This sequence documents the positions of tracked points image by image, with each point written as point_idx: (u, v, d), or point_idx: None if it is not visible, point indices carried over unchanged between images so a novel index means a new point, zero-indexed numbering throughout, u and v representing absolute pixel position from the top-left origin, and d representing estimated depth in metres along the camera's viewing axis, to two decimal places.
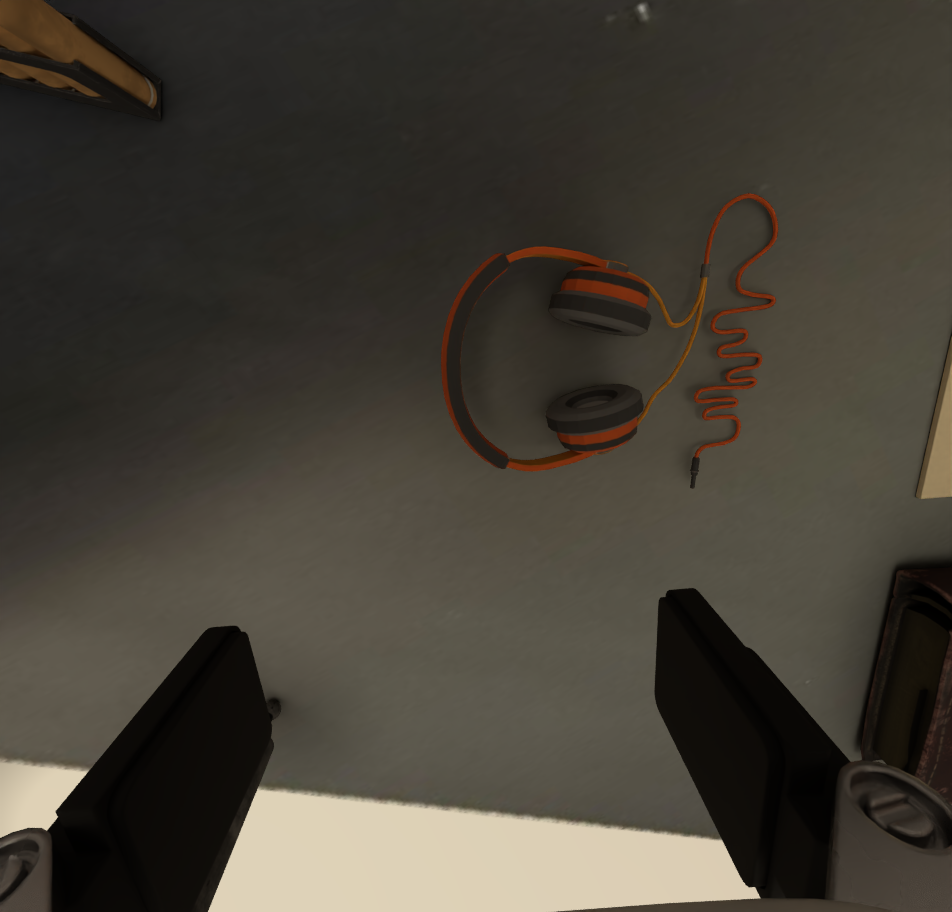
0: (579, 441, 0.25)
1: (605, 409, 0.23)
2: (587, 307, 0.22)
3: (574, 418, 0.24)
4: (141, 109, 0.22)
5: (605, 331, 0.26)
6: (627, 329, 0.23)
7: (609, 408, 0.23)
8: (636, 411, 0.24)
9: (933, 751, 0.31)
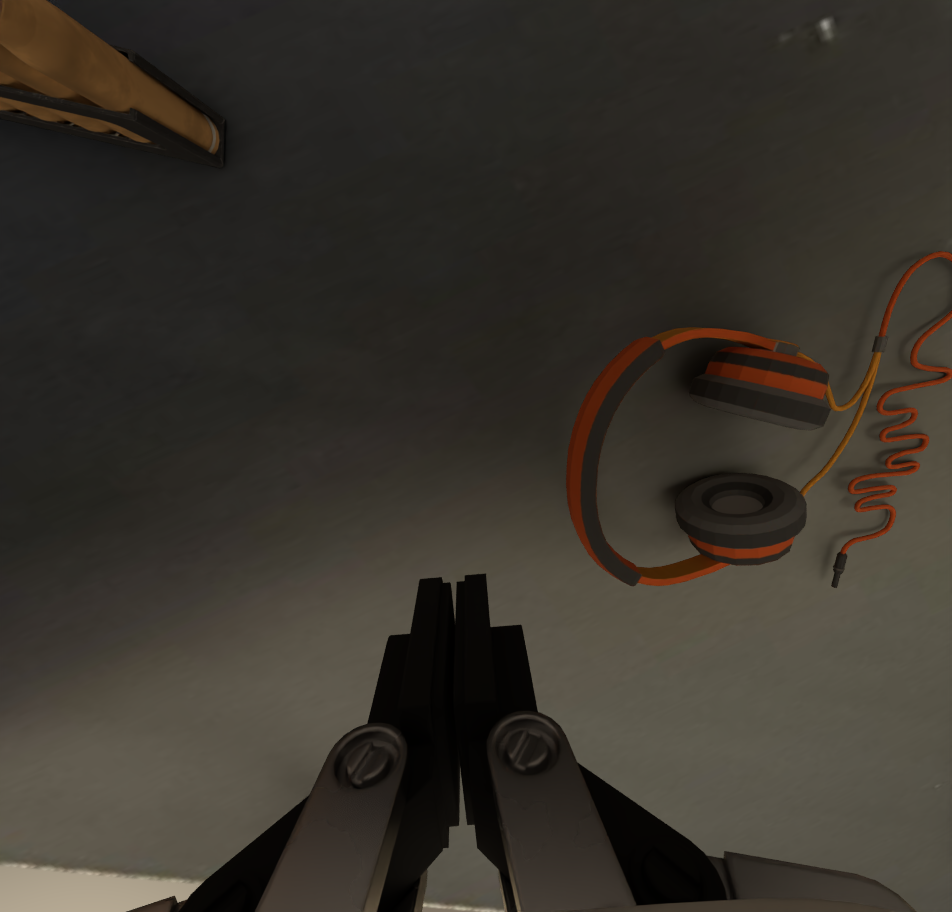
0: (727, 554, 0.20)
1: (769, 522, 0.19)
2: (760, 405, 0.18)
3: (727, 530, 0.20)
4: (202, 157, 0.18)
5: None
6: (805, 428, 0.18)
7: (774, 521, 0.19)
8: (803, 521, 0.19)
9: None
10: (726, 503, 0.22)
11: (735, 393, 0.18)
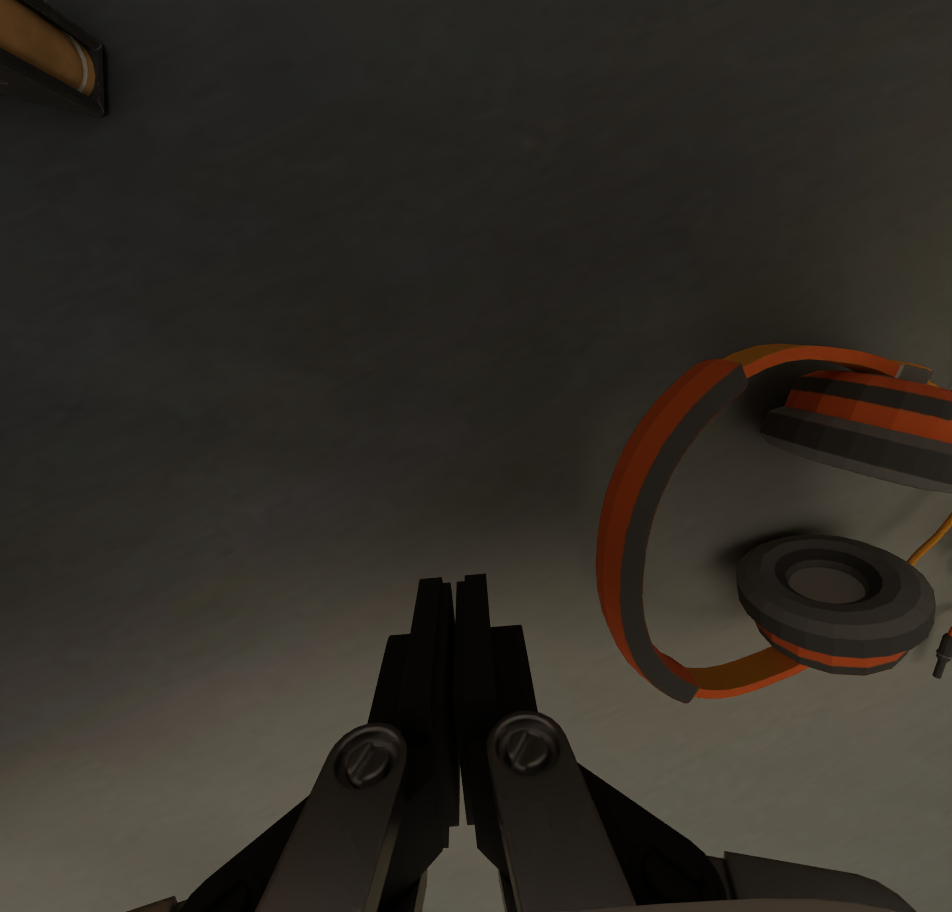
0: (820, 658, 0.15)
1: (888, 622, 0.13)
2: (889, 459, 0.12)
3: (825, 631, 0.14)
4: (63, 96, 0.12)
5: None
6: (948, 492, 0.12)
7: (895, 620, 0.13)
8: (933, 618, 0.14)
9: None
10: (808, 579, 0.16)
11: (847, 441, 0.12)
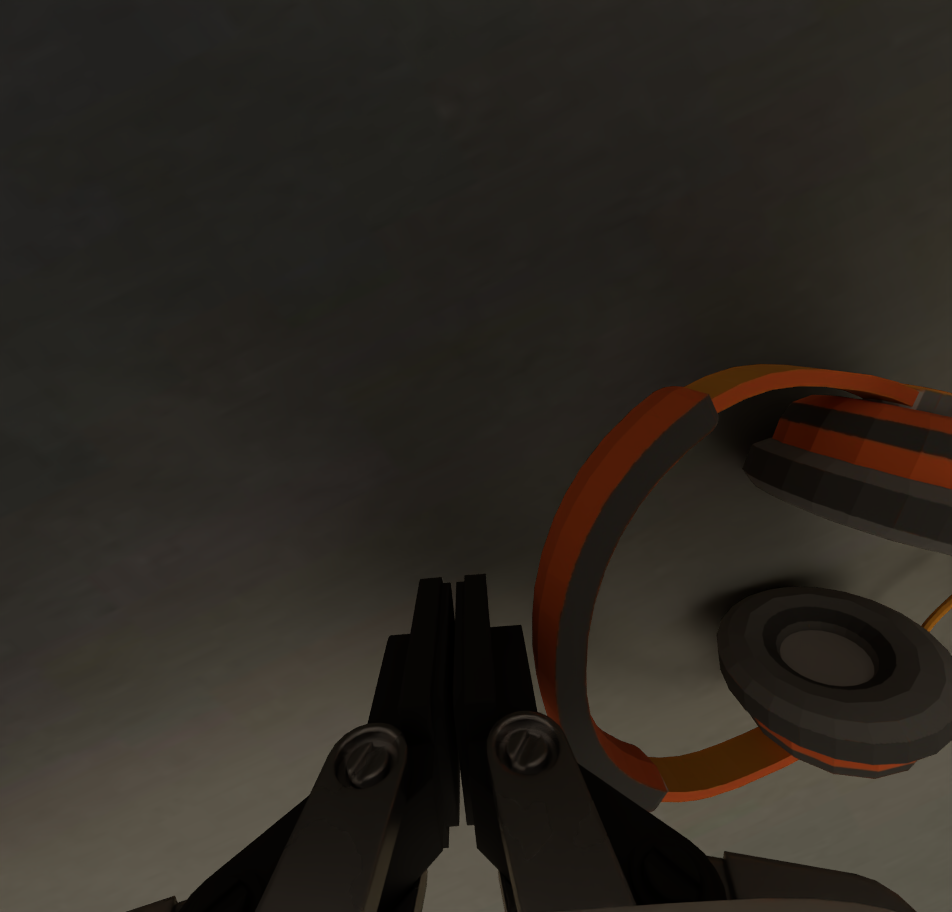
0: (819, 755, 0.12)
1: (905, 719, 0.10)
2: (908, 520, 0.09)
3: (825, 728, 0.11)
4: None
5: None
6: None
7: (914, 717, 0.10)
8: None
9: None
10: (804, 647, 0.13)
11: (852, 493, 0.09)
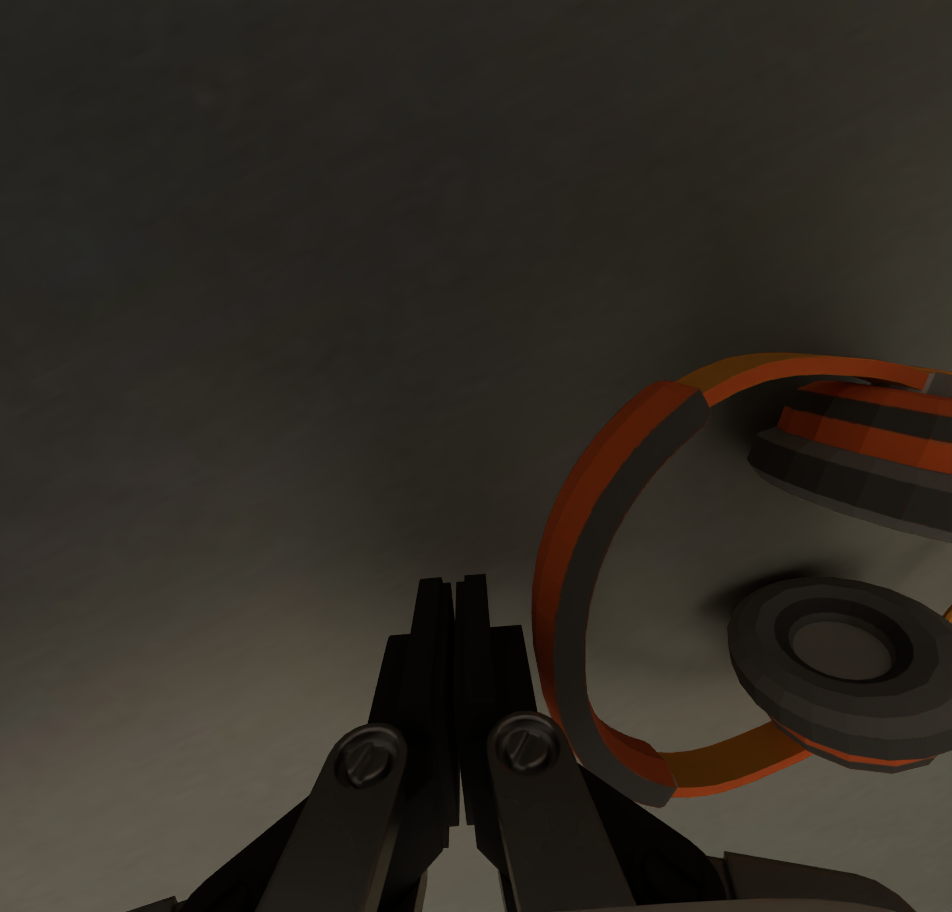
0: (833, 750, 0.11)
1: (921, 714, 0.10)
2: (916, 510, 0.09)
3: (837, 723, 0.11)
4: None
5: None
6: None
7: (931, 712, 0.10)
8: None
9: None
10: (818, 639, 0.13)
11: (856, 483, 0.09)
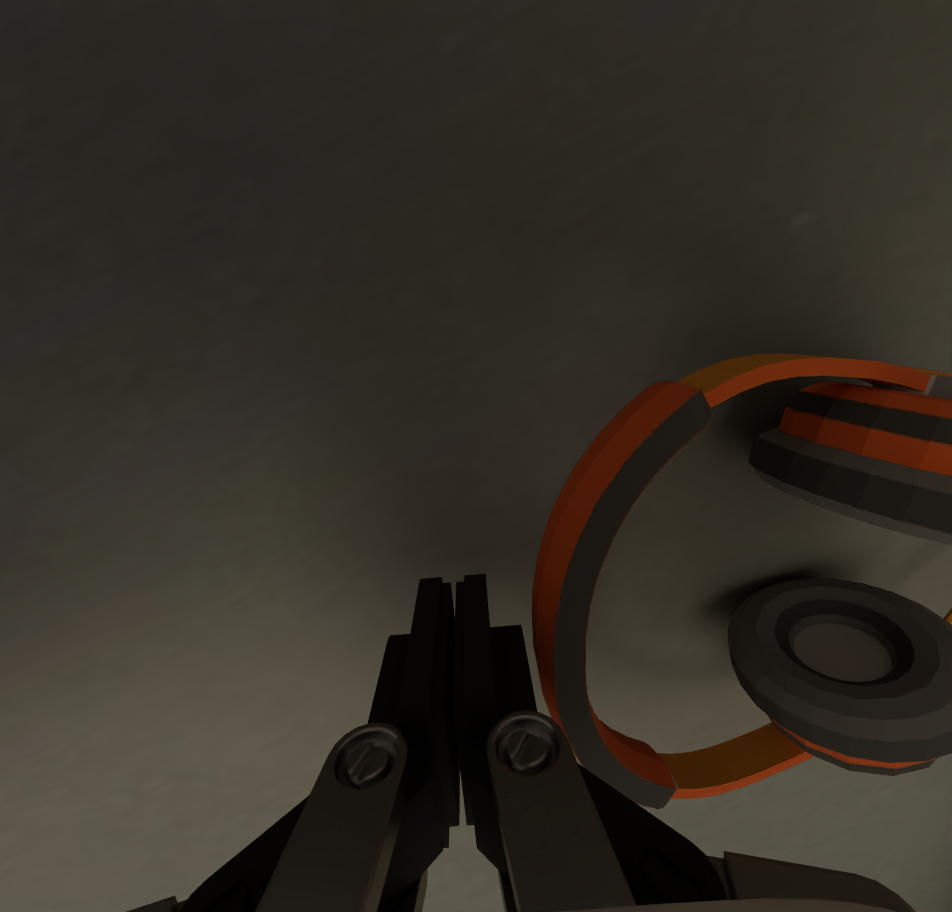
0: (833, 752, 0.11)
1: (922, 716, 0.10)
2: (917, 512, 0.09)
3: (837, 725, 0.11)
4: None
5: None
6: None
7: (932, 714, 0.10)
8: None
9: None
10: (819, 641, 0.13)
11: (857, 485, 0.09)
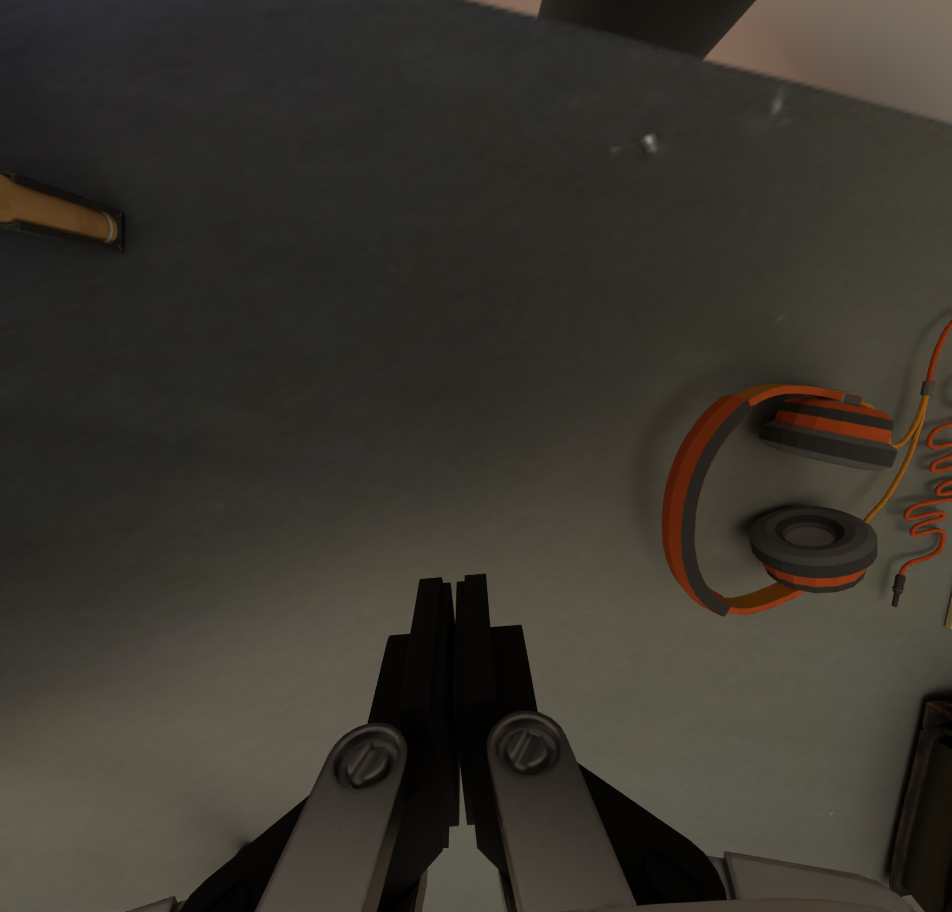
0: (808, 583, 0.22)
1: (847, 553, 0.21)
2: (838, 451, 0.20)
3: (809, 562, 0.22)
4: (98, 247, 0.20)
5: None
6: None
7: (851, 552, 0.21)
8: (876, 551, 0.22)
9: None
10: (798, 535, 0.24)
11: (813, 441, 0.20)
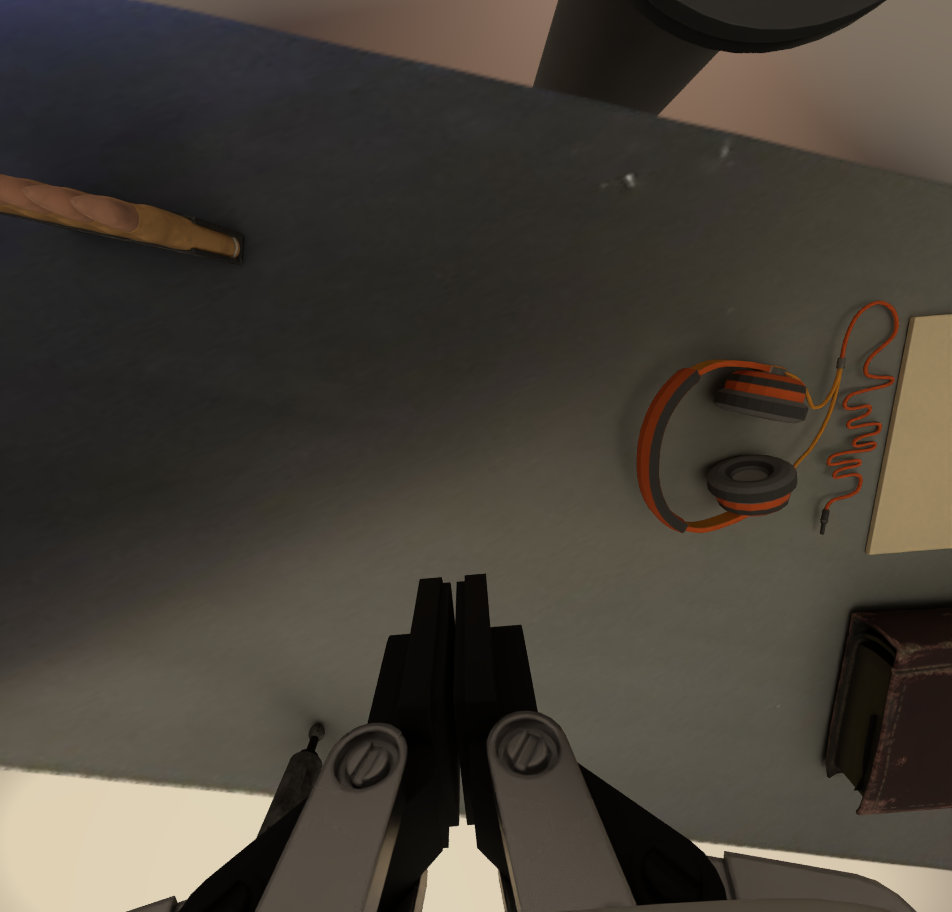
0: (745, 508, 0.30)
1: (772, 484, 0.29)
2: (763, 408, 0.28)
3: (745, 491, 0.29)
4: (229, 262, 0.28)
5: None
6: (792, 422, 0.28)
7: (775, 483, 0.29)
8: (795, 483, 0.29)
9: (881, 767, 0.37)
10: (742, 475, 0.32)
11: (746, 401, 0.28)
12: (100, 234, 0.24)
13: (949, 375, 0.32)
